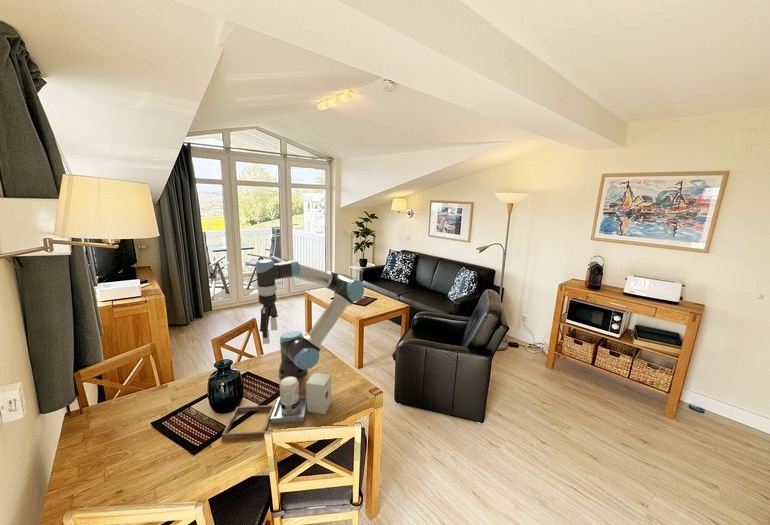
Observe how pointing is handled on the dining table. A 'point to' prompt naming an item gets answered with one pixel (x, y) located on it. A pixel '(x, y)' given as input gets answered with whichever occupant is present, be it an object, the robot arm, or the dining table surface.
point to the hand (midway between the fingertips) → (270, 336)
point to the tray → (282, 418)
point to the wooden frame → (247, 434)
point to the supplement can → (289, 395)
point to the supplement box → (318, 393)
